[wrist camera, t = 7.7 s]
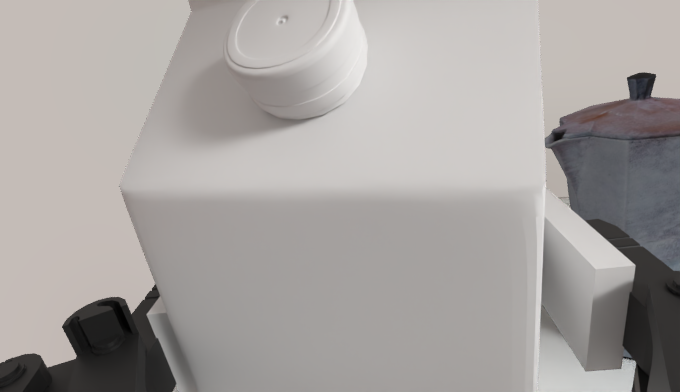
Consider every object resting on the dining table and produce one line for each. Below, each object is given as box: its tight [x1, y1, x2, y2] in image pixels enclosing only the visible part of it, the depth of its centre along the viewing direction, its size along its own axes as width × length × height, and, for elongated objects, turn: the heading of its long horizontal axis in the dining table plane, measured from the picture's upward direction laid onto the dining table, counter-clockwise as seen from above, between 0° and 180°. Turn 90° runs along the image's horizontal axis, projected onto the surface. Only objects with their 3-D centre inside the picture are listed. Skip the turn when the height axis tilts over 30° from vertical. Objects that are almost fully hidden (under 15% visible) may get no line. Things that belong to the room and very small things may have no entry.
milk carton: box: [119, 0, 546, 392], centre depth 11 cm, size 7×7×19 cm
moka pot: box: [545, 73, 680, 358], centre depth 30 cm, size 10×15×20 cm, turn 101°
